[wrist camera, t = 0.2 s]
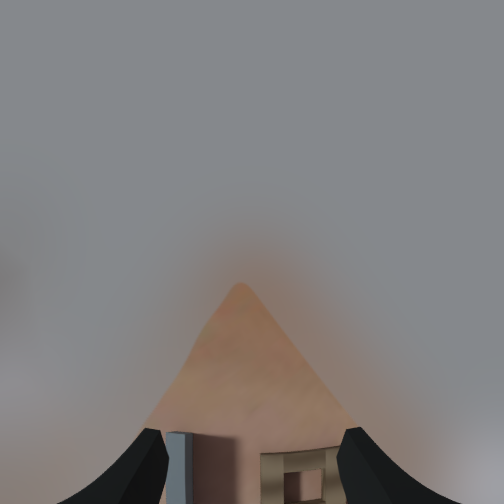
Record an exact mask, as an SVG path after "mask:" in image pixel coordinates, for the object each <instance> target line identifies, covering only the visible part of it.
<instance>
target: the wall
mask: <svg viewBox="0 0 504 504" xmlns="http://www.w3.org/2000/svg"><path fill="white" fill-rule="evenodd" d="M166 449H167V452H168V455H169V465H168V472H167V478H166V502H167V504H193V433H188V432H178V431H174V432H166Z"/></svg>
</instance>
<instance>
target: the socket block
mask: <svg viewBox="0 0 504 504" xmlns="http://www.w3.org/2000/svg"><path fill="white" fill-rule="evenodd" d="M339 448H340V446H334V447H328V448H320V449H312V450H304V451H293V452H279V453H260V479H261V504H346V495H345V492H344V489H343V486H342V483H341V480H340V476H339V471H338V465H337V459H336V456H337V453H338V451H339ZM316 469H321V480H322V498H321V499H315V500H308V501H300V502H291V503H284V473H289V472H299V471H308V470H316Z"/></svg>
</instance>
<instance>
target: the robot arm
mask: <svg viewBox="0 0 504 504" xmlns="http://www.w3.org/2000/svg"><path fill="white" fill-rule="evenodd" d="M336 459H337V465H338V471H339V476H340V480H341V483H342V486H343V489H344V492H345V495H346V498H347V501H348V504H460V503H457V502H455V501H452V500H450V499H448V498H446V497H444V496H441V495H439V494H437V493H435V492H434V491H432V490H430V489H429V488H427V487H425V486H424V485H422V484H421V483H419V482H418V481H416V480H415V479H414V478H412V477H411V476H410V475H408V474H407V473H406V472H404V470H402V469H401V468H400V467H399V466H398V465H397V464H396V463H394V462H393V461H392V460H391V459H390V458H389V457H388V456H387V455H386V454H385V453H384V452H383V451H382V450H381V449H380V448H379V447H378V445H376V443H374V441H373V440H372V439H371V438H370V437H369V436H368V434H367V433H366V432H365V431H364V430H363V429H362V428H361V427H357V428H351V429H346V431H345V434H344V437H343V440H342V443H341V445H340V448H339V451H338V453H337V456H336ZM168 465H169V455H168V452H167V449H166V447H165V444H164V441H163V438H162V435H161V432H160V430H155V429H149V428H145V429H144V430H143V431H142V432H141V433H140V434H139V436H138V437H137V438H136V439H135V441H134V442H133V443H132V444H131V445H130V446H129V448H128V449H127V450H126V451H125V452H124V453H123V454H122V455H121V456H120V457H119V458H118V460H116V462H115V463H114V464H113V465H112V466H110V467H109V468H108V469H107V470H106V471H105V472H104V473H103V474H102V475H101V476H100V477H98V478H97V479H96V480H95V481H94V482H92V483H91V484H90V485H88V486H87V487H86V488H84V489H82V490H81V491H79V492H78V493H76V494H74V495H73V496H71V497H69V498H68V499H66V500H64V501H62V502H60V503H57V504H159V502H160V498H161V495H162V492H163V488H164V485H165V482H166V478H167V472H168Z"/></svg>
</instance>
